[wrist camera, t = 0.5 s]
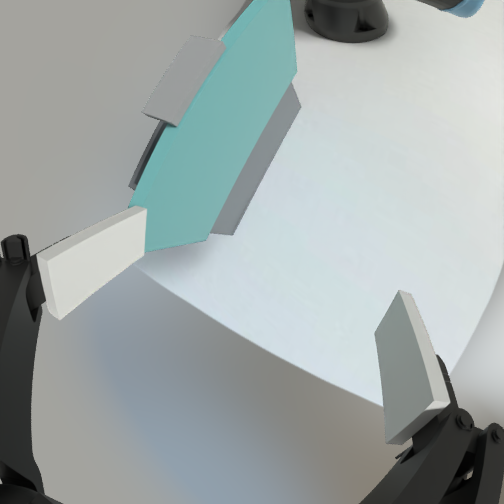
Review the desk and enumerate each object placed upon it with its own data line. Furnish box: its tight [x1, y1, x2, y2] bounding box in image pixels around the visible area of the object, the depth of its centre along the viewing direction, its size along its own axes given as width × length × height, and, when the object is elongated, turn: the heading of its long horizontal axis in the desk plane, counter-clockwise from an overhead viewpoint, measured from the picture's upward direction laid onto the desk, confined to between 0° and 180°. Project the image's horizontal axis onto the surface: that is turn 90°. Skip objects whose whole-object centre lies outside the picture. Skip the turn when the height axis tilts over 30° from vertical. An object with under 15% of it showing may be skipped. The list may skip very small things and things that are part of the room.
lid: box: [128, 0, 297, 252], centre depth 21 cm, size 23×16×3 cm
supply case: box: [129, 82, 301, 235], centre depth 36 cm, size 22×14×9 cm, turn 151°
